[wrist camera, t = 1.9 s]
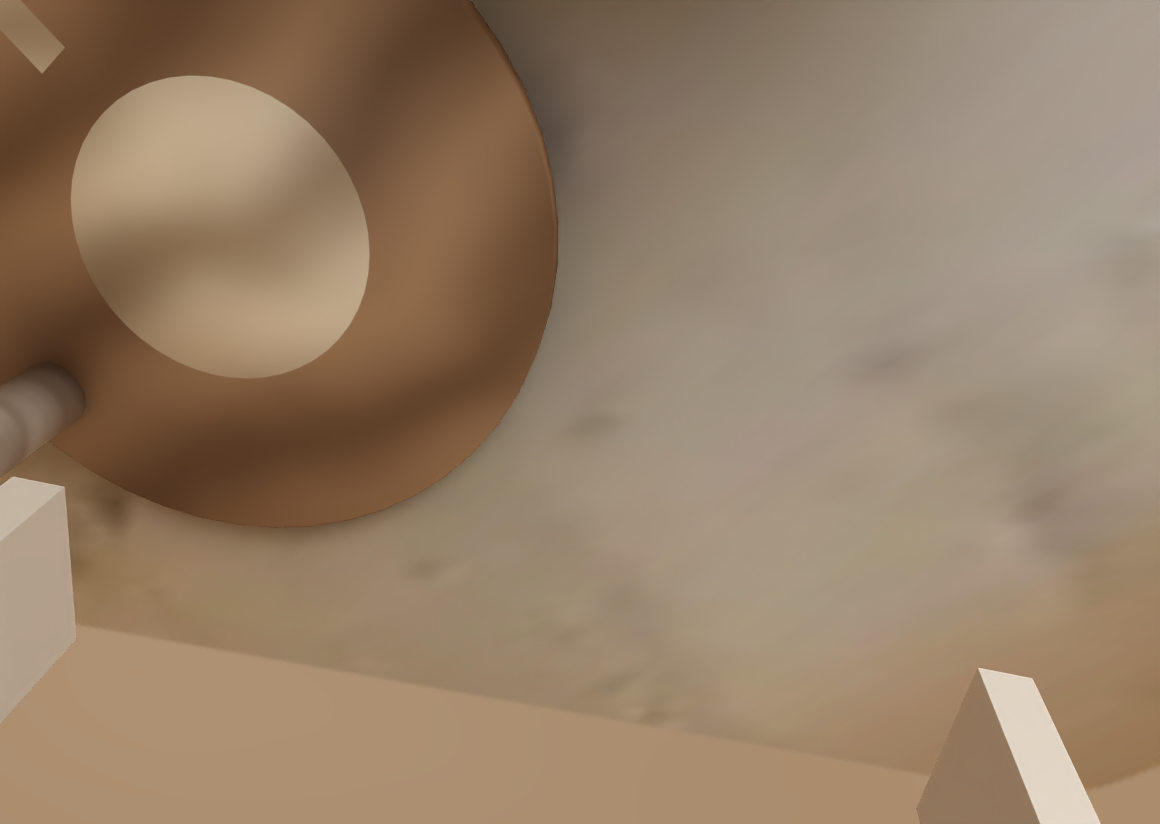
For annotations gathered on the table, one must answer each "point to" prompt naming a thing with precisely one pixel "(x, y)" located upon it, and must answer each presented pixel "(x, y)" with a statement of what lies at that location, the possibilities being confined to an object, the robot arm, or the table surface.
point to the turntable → (266, 247)
